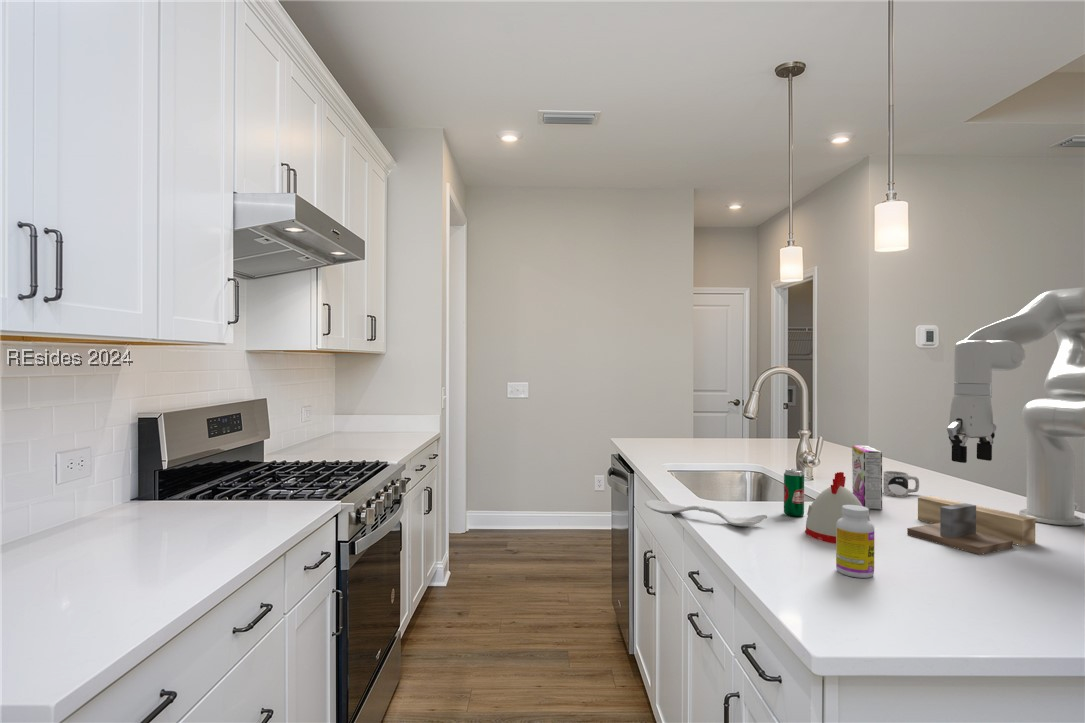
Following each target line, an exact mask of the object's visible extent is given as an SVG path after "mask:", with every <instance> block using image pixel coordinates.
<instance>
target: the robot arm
mask: <svg viewBox="0 0 1085 723" xmlns="http://www.w3.org/2000/svg"><path fill="white" fill-rule="evenodd" d="M1052 332H1054V335H1055V338H1056V341H1057V345H1058V350H1057V354H1056V356H1055V359H1054V360H1053V362H1052V364H1051V366H1050V368H1049V370H1048V373H1047V375H1046V378H1045V380H1044V384H1043V391H1044V392H1045V393H1046V395H1047V396H1048V397H1050V398H1047V397H1046V398H1045V397H1044V398H1043V397H1041V398H1035V399H1033V400H1030V401H1028V402H1027V403H1025V405H1024V406H1023V407H1022V408H1023V409H1022V411H1021V412H1022V413H1021V418H1022V424H1023V428H1024V431H1025V437H1026V438H1025V439H1026V509H1021V510H1019V511H1018V515H1023V516H1028V517H1032V518H1035V523H1042V524H1049V525H1056V526H1057V525H1058V526H1069V527H1070V526H1080V525H1083V518H1081V517H1080V516H1078V515H1075V511H1078V510H1080V508H1081V506H1080V504H1079V503H1077V502H1076V501H1075V499H1076V498H1075V495H1076V493H1075V489H1076V488H1075V485H1076V482H1075V481H1076V480H1075V479H1076V478H1075V476H1076V474H1075V470H1076V468H1075V467H1076V465H1075V464H1076V456H1075V451H1074V449H1073V446H1072V445H1071V444H1070V442H1069V441H1068V440H1067V438H1072V439H1073V438H1075V439H1084V440H1085V286H1083V287H1071V288H1059V289H1053V290H1047V291H1045V292H1042V293H1041V294H1039V295H1038V296H1036V297H1035V298H1034V299H1033V300H1032V301H1030V302H1029V303H1028V304H1027V305H1025V306H1024V307H1023V308H1022V309H1021V310H1019V311H1018V312H1017V313H1015V314H1014V315H1012V316H1010V317H1006V318H1003V319H1001V320H999V321H996V322H994V323H991V324H988V325H986V326H984V327H981V328H979V329H977V330H976V331H973V332H972V333H971V334H970V335H969V336H968V337H966V338H964V339H963V340H960V341H958V342H956V344H955V345H954V358H953V360H954V364H953V367H954V369H953V380H954V381H953V396H952V401H951V405H950V410H949V411H950V412H949V422H948V423H949V424H948V426H947V427H946V430H947V434H948V438H949V441H950V445H951V461H952V462H955V463H963V464H966V463H967V462H968V459H967V458H968V446H967V445H966V444H967V442H968V440H969V439H977V441H978V442H976V459H977V460H982V461H988V462H990V461H992V460H993V444H994V438H995V437H996V436H995V435H996V434H995V433H996V430H997V425H996V424H994V419H993V418H994V415H993V414H994V413H993V404H992V398H993V397H992V396H993V394H992V393H993V372H994V371H995V372H996V371H999V372H1001V371H1002V372H1005V371H1013V370H1016V369H1018V368H1020V367H1021V366H1022V365H1023V364H1024V362H1026V356H1027V355H1026V354H1027V353H1026V350H1025V348H1023V346H1026V345H1030V344H1033V343H1038V342H1040V341H1042V340H1044V339H1045V338H1047V337H1048V336H1049V335H1050V334H1051V333H1052Z"/></svg>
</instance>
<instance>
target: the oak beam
mask: <svg viewBox="0 0 1085 723" xmlns="http://www.w3.org/2000/svg"><path fill="white" fill-rule="evenodd" d="M963 503H964V502H962V501H961V502H960V501H956V500H953V499H947V498H942V497H937V496H935V495H933V496H932V495H926V496H920V497H919V496H918V497H917V520H918V519H919V521H922V520H923V522H926V521H927V523H930V522H932V523H931V524H934V523H940V507H943V506H950V505H957V504H963ZM976 532H979V533H983V534H987V535H991V536H995V537H999V538H1003V539H1007V540H1011V541H1013V543H1014V544H1013V545H1016V544H1018V545H1017V546H1020V545H1021V546H1020V547H1025V546H1030V545H1033V544H1036V521H1035V518H1032V517H1028V516H1023V515H1019V513H1013V512H1008V511H1004V510H998V509H995V508H990V507H984V506H980V505H976ZM1024 545H1025V546H1024Z"/></svg>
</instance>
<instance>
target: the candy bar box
mask: <svg viewBox="0 0 1085 723" xmlns="http://www.w3.org/2000/svg"><path fill="white" fill-rule="evenodd" d="M851 448H852V449H851V452H852V454H851V456H852V459H851V460H852V461H851V462H852V464H851V465H852V468H851V469H852V470H851V471H852V474H851V475H852V493H853V494H854V495H855V496H856V497H857V498H858V500H859V501H860V503H861V504H862V506H863V507H866V508H868V509H869V510H875V509H879V510H883V452H882V451H881V450H878V449H876V448H874V447H872V446H870V445H862V444H861V445H858V444H857V445H855V444H854V445H851Z"/></svg>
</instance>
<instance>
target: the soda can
mask: <svg viewBox="0 0 1085 723" xmlns="http://www.w3.org/2000/svg"><path fill="white" fill-rule="evenodd" d="M783 513H784V515H786V516H788V517H792V518H801V517H803V516H804V515H805V474H804V473H803V470H801V469H796V468H795V469H794V468H787V469H785V472H784V473H783Z"/></svg>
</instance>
